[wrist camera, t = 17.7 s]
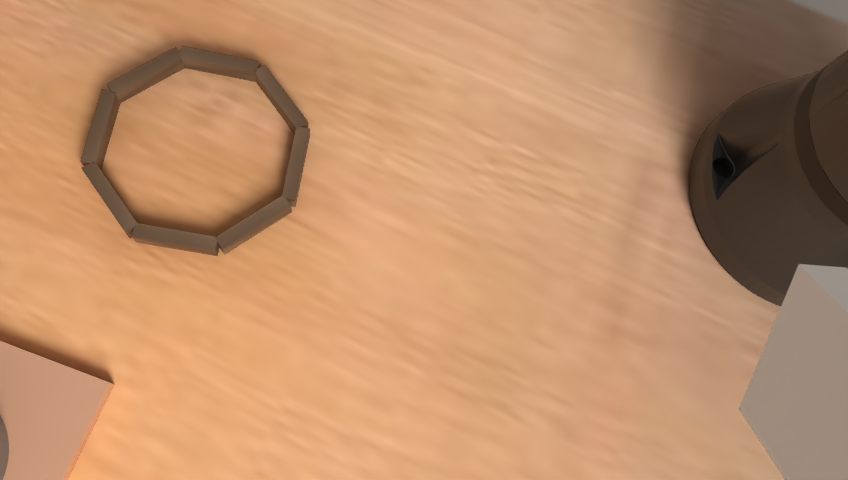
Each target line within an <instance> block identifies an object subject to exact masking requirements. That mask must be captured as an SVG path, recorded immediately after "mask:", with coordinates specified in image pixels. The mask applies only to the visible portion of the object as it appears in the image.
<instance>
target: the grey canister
mask: <svg viewBox="0 0 848 480" xmlns="http://www.w3.org/2000/svg"><path fill="white" fill-rule="evenodd" d="M8 457H9V440H8V434H7V430H6V427H5V424H4V422H3V420H2V418H1V416H0V480H3V477H4V475H5V472H6V468H7V464H8Z"/></svg>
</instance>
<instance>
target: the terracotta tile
mask: <svg viewBox="0 0 848 480" xmlns="http://www.w3.org/2000/svg"><path fill="white" fill-rule="evenodd" d="M113 386H114V384H112V383H109V382H107V381H104V380H102V379H99V378H96V377H94V376H91V375H89V374H86V373H83V372H81V371H78V370H75V369H73V368H70V367H68V366H65V365H62V364H60V363H57V362H54V361H52V360H49V359H47V358H44V357H41V356H39V355H36V354H34V353H31V352H28V351H26V350H23V349H20V348H18V347H15V346H13V345H10V344H7V343H5V342H2V341H0V416H1V418H2V420H3V422H4V424H5V427H6V430H7V434H8V440H9V457H8V464H7V468H6V472H5V475H4V477H3V480H67V479H68V477H69V475H70V473H71V471H72V469H73V467H74V465H75V463H76V461H77V459H78V457H79V455H80V453H81V451H82V449H83V447H84V445H85V443H86V441H87V439H88V437H89V435H90V433H91V431H92V429H93V427H94V425H95V423H96V421H97V419H98V417H99V415H100V412H101V410H102V408H103V406H104V404H105V402H106V400H107V398H108V396H109V394H110V392H111V390H112V388H113Z"/></svg>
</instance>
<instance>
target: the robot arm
mask: <svg viewBox="0 0 848 480" xmlns="http://www.w3.org/2000/svg"><path fill="white" fill-rule="evenodd" d="M689 188H690V199H691V204H692V209H693V213H694V216H695V219H696V222H697V225H698V228H699V230H700V232H701V234H702V236H703V238H704V240H705V242H706V244H707V246H708V247H709V249H710V250H711V252H712V253H713V255H714V256H715V258H716V259H717V260H718V261H719V263H720V264H721V265H722V266H723V267H724V268H725V270H726V271H727V272H728V273H729V274H730V275H731V276H732V277H733V278H735V279H736V280H737V281H738V282H739V283H740V284H742V285H743V286H744V287H746V288H747V289H748V290H750V291H751V292H753V293H754V294H756V295H758V296H759V297H761V298H763V299H765V300H767V301H769V302H771V303H774V304H776V305H779V306H781V308H780V311H779V313H778V315H777V318H776V320H775V323H774V325H773V327H772V330H771V332H770V335H769V337H768V339H767V342H766V344H765V347H764V349H763V352H762V354H761V356H760V359H759V361H758V364H757V366H756V368H755V371H754V373H753V376H752V378H751V380H750V383H749V385H748V388H747V390H746V392H745V395H744V397H743V400H742V402H741V405H740V407H739V410H740V412H741V413H742V415H743V416H744V418H745V419H746V421H747V422H748V424H749V425H750V427H751V428H752V430H753V431H754V433H755V434H756V436H757V437H758V439H759V441H760V442H761V444H762V445H763V447H764V448H765V450H766V451H767V453H768V454H769V456H770V457H771V459H772V460H773V462H774V463H775V465H776V466H777V468H778V469H779V471H780V472H781V474H782V475H783V477H784V478H785V480H848V50H847V51H845V52H844V53H843V54H841V55H840V56H839V57H837V58H836V59H835V60H833V61H832V62H831V63H830V64H828V65H827V66H826V67H824V68H823V69H822V70H820V71H818V72H814V73H811V74H807V75H804V76H800V77H797V78H793V79H789V80H786V81H782V82H779V83H775V84H772V85H768V86H765V87H762V88H759V89H757V90H755V91H753V92H751V93H749V94H747V95H745V96H743V97H742V98H740V99H739V100H737V101H736V102H735V103H733V104H732V105H731V106H730V107H729V108H727V109H726V110H725V111H724V112H723V113H721V114H720V115H719V116H718V117H717V118H716V119H715V120H714V121H713V122H712V123H711V124H710V125H709V126H708V127H707V129H706V130H705V132H704V133H703V135H702V136H701V138H700V140H699V142H698V144H697V146H696V149H695V151H694V154H693V158H692V162H691V167H690V177H689Z"/></svg>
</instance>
